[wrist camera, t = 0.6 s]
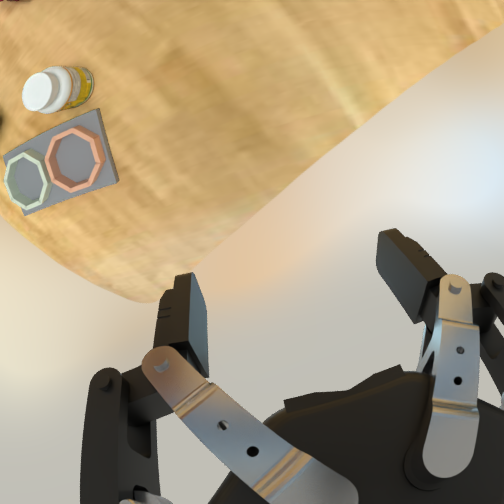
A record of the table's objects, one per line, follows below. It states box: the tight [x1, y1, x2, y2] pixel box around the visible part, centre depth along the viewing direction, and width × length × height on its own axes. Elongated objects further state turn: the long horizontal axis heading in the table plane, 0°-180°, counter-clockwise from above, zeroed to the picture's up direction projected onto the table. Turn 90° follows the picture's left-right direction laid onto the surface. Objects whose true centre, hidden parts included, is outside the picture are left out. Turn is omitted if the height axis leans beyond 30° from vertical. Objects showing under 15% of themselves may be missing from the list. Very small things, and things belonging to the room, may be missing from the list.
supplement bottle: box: [22, 66, 94, 114], centre depth 22 cm, size 5×5×10 cm
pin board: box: [3, 108, 119, 216], centre depth 29 cm, size 10×17×3 cm, turn 99°
